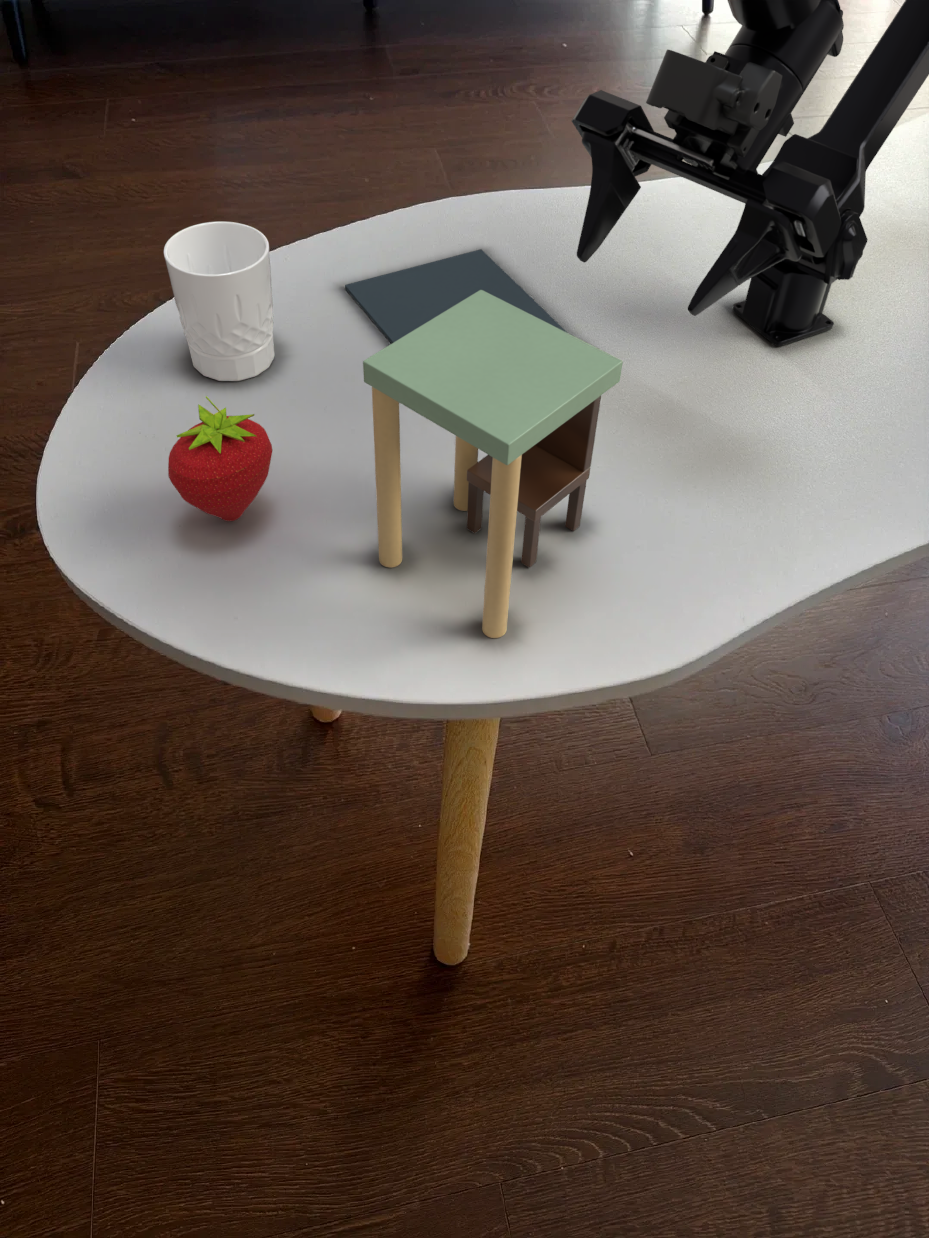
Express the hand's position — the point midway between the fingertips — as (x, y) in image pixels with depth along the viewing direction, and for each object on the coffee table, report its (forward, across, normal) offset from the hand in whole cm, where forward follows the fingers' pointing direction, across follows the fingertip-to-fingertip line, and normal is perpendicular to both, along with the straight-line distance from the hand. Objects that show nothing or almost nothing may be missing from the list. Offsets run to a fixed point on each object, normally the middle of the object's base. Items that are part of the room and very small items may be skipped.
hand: (634, 285), depth 73 cm
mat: (+6, -20, +14) cm, 25 cm away
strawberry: (+28, -15, -6) cm, 32 cm away
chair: (+18, +1, +3) cm, 18 cm away
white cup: (+19, -30, +3) cm, 35 cm away
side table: (+21, +1, 0) cm, 21 cm away
